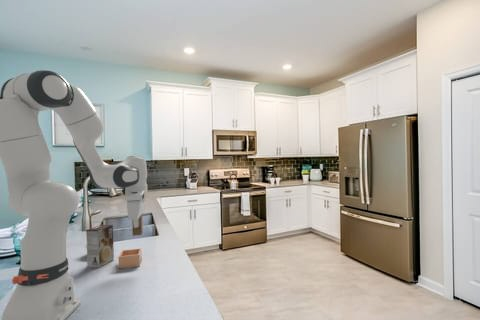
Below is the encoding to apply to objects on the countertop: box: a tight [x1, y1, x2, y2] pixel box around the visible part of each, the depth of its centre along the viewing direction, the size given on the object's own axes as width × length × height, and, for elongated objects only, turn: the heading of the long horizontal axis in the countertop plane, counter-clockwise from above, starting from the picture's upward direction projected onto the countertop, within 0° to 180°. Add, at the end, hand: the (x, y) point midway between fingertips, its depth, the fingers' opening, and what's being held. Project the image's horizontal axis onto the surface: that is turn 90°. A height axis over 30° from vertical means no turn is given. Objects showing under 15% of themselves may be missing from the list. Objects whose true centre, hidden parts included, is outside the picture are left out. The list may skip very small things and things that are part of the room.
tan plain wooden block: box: [131, 214, 143, 237], centre depth 111 cm, size 4×4×8 cm
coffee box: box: [85, 224, 115, 268], centre depth 114 cm, size 9×6×16 cm
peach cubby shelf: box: [118, 248, 143, 269], centre depth 113 cm, size 8×8×5 cm
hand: (137, 225), depth 111 cm, fingers closed on tan plain wooden block, 3 cm apart
